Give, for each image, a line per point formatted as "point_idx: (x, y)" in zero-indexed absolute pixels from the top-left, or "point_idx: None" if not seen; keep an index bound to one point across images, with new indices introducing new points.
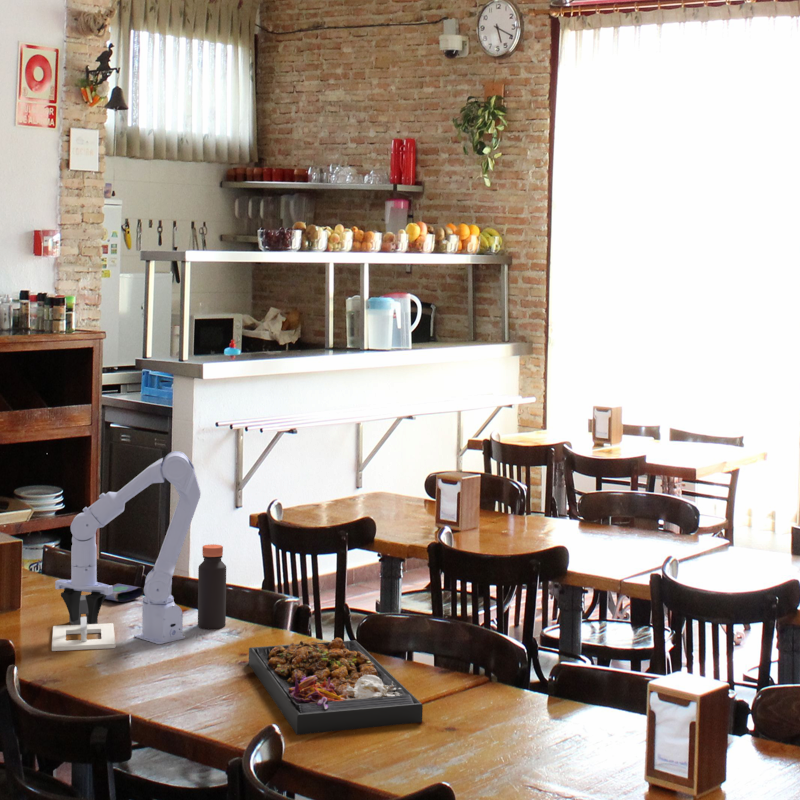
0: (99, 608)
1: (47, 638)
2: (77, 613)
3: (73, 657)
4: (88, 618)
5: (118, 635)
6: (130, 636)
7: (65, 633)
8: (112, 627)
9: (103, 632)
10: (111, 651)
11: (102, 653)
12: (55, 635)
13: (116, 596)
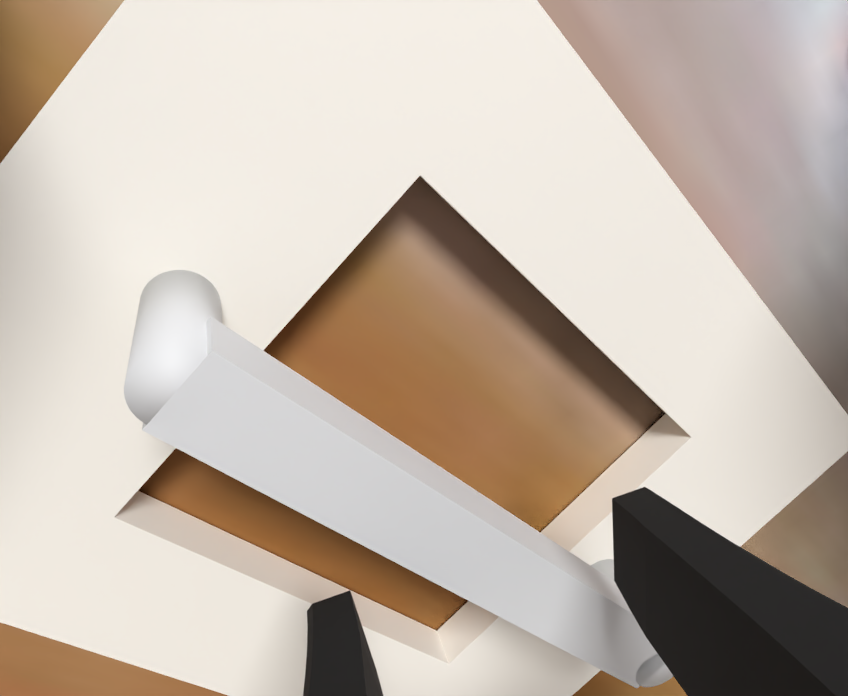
0: (842, 623)
1: (115, 661)
2: (371, 693)
3: (678, 692)
4: (661, 658)
5: (660, 100)
6: (803, 39)
7: (240, 578)
8: (514, 5)
9: (570, 279)
10: (837, 479)
11: (801, 542)
12: (226, 669)
13: None
